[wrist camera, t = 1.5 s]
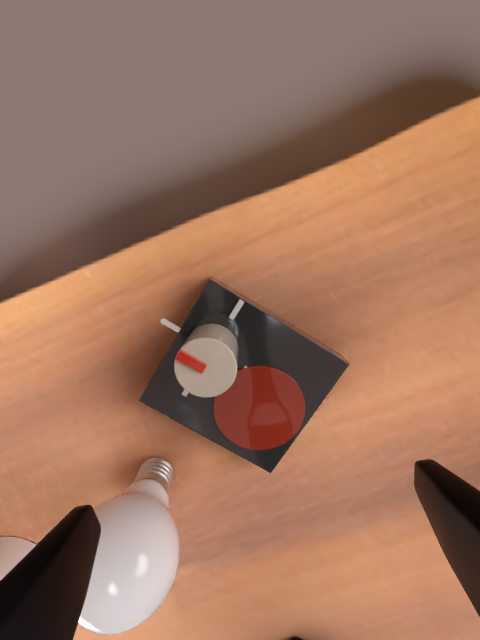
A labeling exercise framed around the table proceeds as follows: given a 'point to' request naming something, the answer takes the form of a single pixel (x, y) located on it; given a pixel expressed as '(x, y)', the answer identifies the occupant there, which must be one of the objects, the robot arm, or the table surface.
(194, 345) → the hob knob
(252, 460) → the hob
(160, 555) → the lightbulb
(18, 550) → the cylindrical container
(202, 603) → the table surface
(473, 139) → the table surface
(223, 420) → the burner zone
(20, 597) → the robot arm
